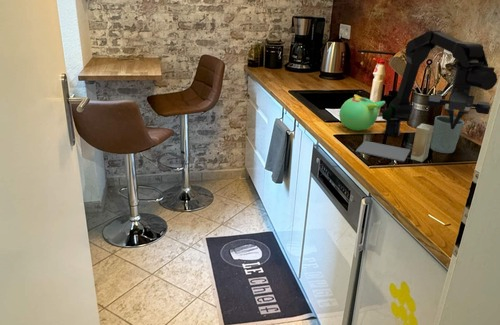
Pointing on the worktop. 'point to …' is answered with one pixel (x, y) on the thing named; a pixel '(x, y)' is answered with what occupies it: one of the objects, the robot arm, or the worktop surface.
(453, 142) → the grey cup
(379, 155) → the mat
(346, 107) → the green teapot
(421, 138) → the skincare box
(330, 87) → the worktop surface
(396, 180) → the worktop surface
